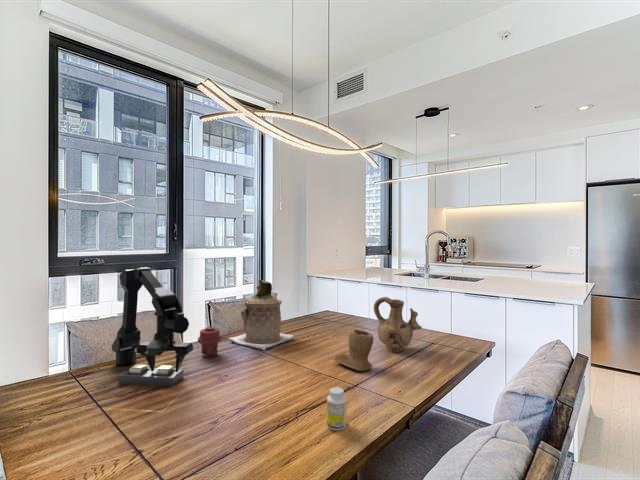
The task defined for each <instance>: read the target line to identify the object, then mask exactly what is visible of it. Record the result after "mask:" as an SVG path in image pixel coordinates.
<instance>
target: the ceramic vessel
mask: <svg viewBox="0 0 640 480" xmlns="http://www.w3.org/2000/svg"><path fill="white" fill-rule="evenodd" d="M383 303H386V304H388V305H389V306H390V311H389V315H388V318H384V317H383V316H382V315H381V312H380V309H379V308H380V305H382V304H383ZM404 306H405V301H403V300H400V299H391V298H390V297H387V296H383V297H379V298H378V299H377V300H376V301H375V302H374V304H373V312H374V315H375V316H376V318H377V320H378V321H379V324H378V327H377V335H378V339H379V341H380V342H381V343H382V344H384V345H385V346H386V347H385V349H386V348H387V349H388V350H391V351H401V352H403V351H404V350H405V347H407V346H409V345H410V343H411V342H412V340H413V339H412V338H413V334H414V331H416V330H417V331H418V330H421V329H423V328H422V326H421V325H420V324H419V323H418V321H417V317H418V316H419V315H418V312H417V311H414V309H413V308H412V307H410V309H409V311H410V319H409V320H408V322H406V321H405V320H404V318H403V309H404ZM387 349H386V350H387ZM388 350H387V351H388ZM402 350H403V351H402Z"/></svg>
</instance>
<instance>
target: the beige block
mask: <svg viewBox="0 0 640 480" xmlns="http://www.w3.org/2000/svg"><path fill="white" fill-rule="evenodd" d="M147 368H148V364H133V366H131V367H129V369H130V375H143V374H144V373H146V372H147Z"/></svg>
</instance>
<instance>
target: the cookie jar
mask: <svg viewBox="0 0 640 480" xmlns="http://www.w3.org/2000/svg"><path fill="white" fill-rule="evenodd" d="M256 289H257V292H256V293H254V294H253V295H252V296H251V297H250V298H246V299H245V301H244V305H245V307H246V308H245V307H244V308H243V310H241V311H240V316H241V319H242V320H243V326H242V329H243V331H244V332H245V333H244V334H240V335H238V336H234V337H229V338H228V340H230V341H232V342H233V343H234V344H236V345H237V344H238V345H242V346H246V347H247V346H248V347H250V348H251V347H252V348H257V349H260V350H263V351H266V349H268V348H271V347H274V346H277V345H279V344H282V343H284V342H287V341H291V340H293V338H294V335H293V334H289V333H288V334H287V333H281V331H282V317H281V314H282V313H281V304H282V302H283V301H282V299H278V298H276V297H274V296H272V292H273V285H272V282H269V281H267V280H264V279H263V280H262V279H259V280H258V283H257V284H256Z"/></svg>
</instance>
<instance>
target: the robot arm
mask: <svg viewBox="0 0 640 480" xmlns="http://www.w3.org/2000/svg"><path fill="white" fill-rule="evenodd" d="M119 281H120V283H119V284H120V287H121V288H122V290H123V291H124V295H123V305H122V306H123V308H122V309H123V310H122V311H123V312H122V324H121V327H120V328H119V329H118V331H117V333H116V337H115V340H114V342H113V343H112V345H111V351H112V352H114V353H115V364H113V367H126V368H128V367H130V366H131V365H134V364H135V363H136V362H138V360H137V354H139V355H140V356H142V357H144V359H146V361H147V363H148V364H147V365H148V366H149V368H150V369H151V371H154V368H156V367H155V366H156V357H159V356H161V355H162V354H163V353H164V352H168V351H169V352H170V351H173V352H175V355H174V358H175V369H176V372H178V371H179V369H181V366H182V363H183V361H184V359H185V357H186V356H187V355H189V353H191V352H192V351H194V345H193V343H192V342H184V341H183V342H181V343H180V344H177V345H175V344H176V340H174V339H175V338H174V337H175V336H174V335H175V333H176V334H183V333H185V332H187V330H188V329H189V326H190V322H189V320H188V318H187V317H186V316H185V314H184V312H183V309H182V306H181V303H180V301H179V299H178V297H177V295H176V293H174V292H173V291H172V290H170V289H167V288H165V287H164V286H163V285H162V284H161V282H160V281H159V280H158V278H157V277H156V276H155V274H154V273H153V272H152V269H151V268H150V267H138V268H134V269H133V268H132V269H123V270H122V271H121V272H120V273H119ZM142 287H144V288H145V289H146V291H147V292H148V293H149V296H150V297H151V298H152V299H151V304H152V307H153V308H154V310H155V312H154V313H153V315H154V316H156V332H154V335H153V339H152V340H145V341H142V342H141V333H142V332H141V329H139V328H138V327H137V313H138V298H139V291H140V289H141V288H142ZM140 342H141V343H140Z"/></svg>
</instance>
